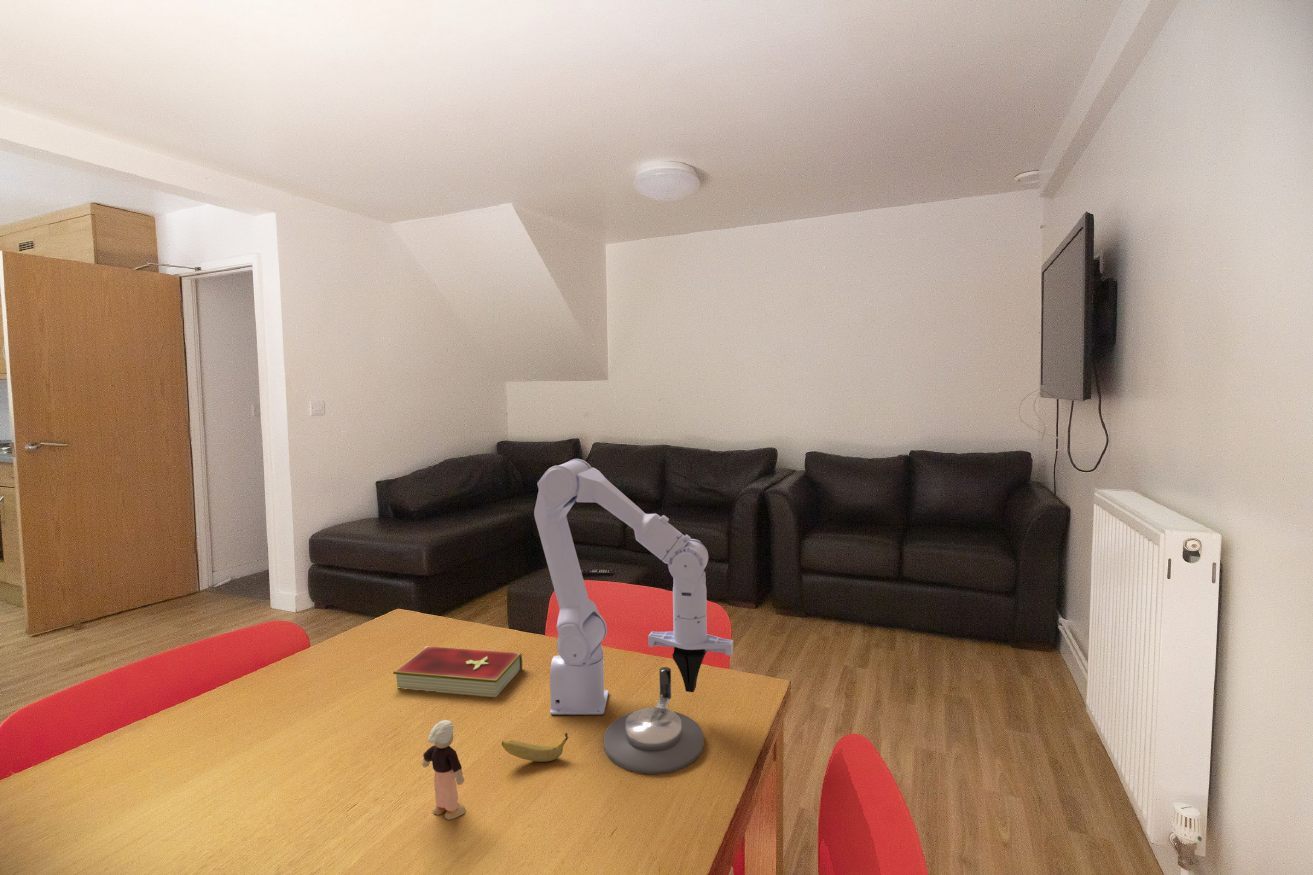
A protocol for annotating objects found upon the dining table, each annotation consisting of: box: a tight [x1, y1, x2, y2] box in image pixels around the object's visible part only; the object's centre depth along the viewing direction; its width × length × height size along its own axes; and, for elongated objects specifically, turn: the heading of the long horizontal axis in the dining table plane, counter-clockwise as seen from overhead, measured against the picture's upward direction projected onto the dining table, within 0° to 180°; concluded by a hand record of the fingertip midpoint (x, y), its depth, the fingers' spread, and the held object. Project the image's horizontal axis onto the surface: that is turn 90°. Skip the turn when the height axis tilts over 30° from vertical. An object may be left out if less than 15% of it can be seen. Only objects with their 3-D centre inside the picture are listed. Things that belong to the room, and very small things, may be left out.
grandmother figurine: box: [421, 719, 466, 821], centre depth 86 cm, size 8×4×13 cm, turn 71°
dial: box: [625, 666, 682, 750], centre depth 104 cm, size 14×9×6 cm, turn 167°
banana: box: [501, 732, 569, 763], centre depth 97 cm, size 10×2×4 cm, turn 98°
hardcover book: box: [392, 645, 523, 698], centre depth 124 cm, size 12×21×4 cm, turn 79°
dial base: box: [603, 711, 704, 775], centre depth 102 cm, size 16×16×1 cm
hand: (690, 689), depth 109 cm, fingers closed
